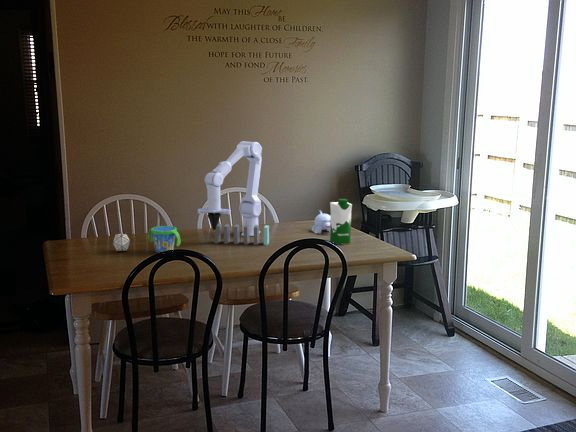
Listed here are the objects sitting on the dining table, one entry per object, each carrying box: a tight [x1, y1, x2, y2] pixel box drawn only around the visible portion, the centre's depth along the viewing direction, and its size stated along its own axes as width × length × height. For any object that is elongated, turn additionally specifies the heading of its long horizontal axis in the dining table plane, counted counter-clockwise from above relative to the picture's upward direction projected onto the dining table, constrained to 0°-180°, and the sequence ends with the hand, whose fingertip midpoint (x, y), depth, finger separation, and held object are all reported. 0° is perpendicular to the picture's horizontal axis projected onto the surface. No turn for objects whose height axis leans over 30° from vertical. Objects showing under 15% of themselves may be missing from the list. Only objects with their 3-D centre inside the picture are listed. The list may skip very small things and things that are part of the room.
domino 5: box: [253, 224, 260, 246], centre depth 279 cm, size 2×5×8 cm, turn 173°
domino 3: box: [233, 223, 241, 245], centre depth 280 cm, size 2×5×8 cm, turn 173°
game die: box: [110, 232, 133, 253], centre depth 264 cm, size 9×8×10 cm
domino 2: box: [223, 223, 231, 245], centre depth 281 cm, size 2×5×8 cm, turn 173°
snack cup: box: [147, 225, 182, 254], centre depth 264 cm, size 16×10×10 cm
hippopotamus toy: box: [311, 209, 331, 234], centre depth 304 cm, size 11×15×10 cm
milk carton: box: [329, 198, 353, 245], centre depth 281 cm, size 9×9×20 cm
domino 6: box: [263, 224, 270, 246], centre depth 278 cm, size 2×5×8 cm, turn 173°
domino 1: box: [213, 223, 223, 244], centre depth 281 cm, size 2×5×8 cm, turn 173°
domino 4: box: [243, 225, 250, 245], centre depth 280 cm, size 2×5×8 cm, turn 173°
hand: (214, 229), depth 281 cm, fingers closed
